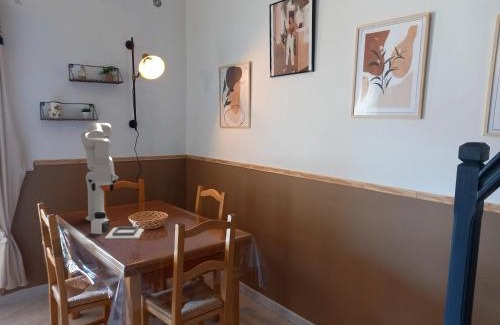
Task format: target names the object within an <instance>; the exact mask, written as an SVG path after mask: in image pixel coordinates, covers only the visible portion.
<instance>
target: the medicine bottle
mask: <svg viewBox="0 0 500 325" xmlns="http://www.w3.org/2000/svg"><path fill="white" fill-rule="evenodd" d="M106 216H107V212H106V211H104V212H103V211H98V212H96V213H94V219H95V220H93V221H90V228H91V229H90V233H91V234H94V235H95V234H96V235H104V234H107V232H108V233H109V232H110V219H109V218H106Z"/></svg>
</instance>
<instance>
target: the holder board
mask: <svg viewBox="0 0 500 325" xmlns="http://www.w3.org/2000/svg"><path fill="white" fill-rule="evenodd" d="M138 227H139V226H117V227H113V228H112V229H110V230H109V232H108V233H107V234H106V236H105V237H104V239H105V240H125V239H126V240H128V239H129V240H136V239H138V240H139V239H140V238H141V236H142V234H143V233H144V231H145V229H138ZM142 232H143V233H142Z"/></svg>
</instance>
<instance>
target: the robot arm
mask: <svg viewBox="0 0 500 325" xmlns="http://www.w3.org/2000/svg"><path fill="white" fill-rule="evenodd" d="M112 133H113V129H112V126H111V124H110V123H109V122H108V123H107V122H91V123H89V124H88V125H87V127H86V130H85V129H84V130H82V131H81V133H80V141H81V143H82V146H83V148H84V150H85V154H86V165H87V169H88V170H90V171H88V172H87V173H86V174H85V175H86V176H85V181H86V186H87V210H88V211H87V212H88V215H87V216H86V217H85V220H86V221H87V222H88V221H89V222H91V221H93V220H95V219H94V213H96V212H98V211H103V212H105V192H104V190H103V189H102V188H101V186H109V191H110V192H113V191H114V190H115V189H114V188H115V184H116V182H118V179H119V178H120V177H119V176H118V175H116V174H115V173H116V172H115V165H114V160H113V158H112V156H110V149H111V136H112ZM106 219H108V216H107V215H106Z"/></svg>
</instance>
